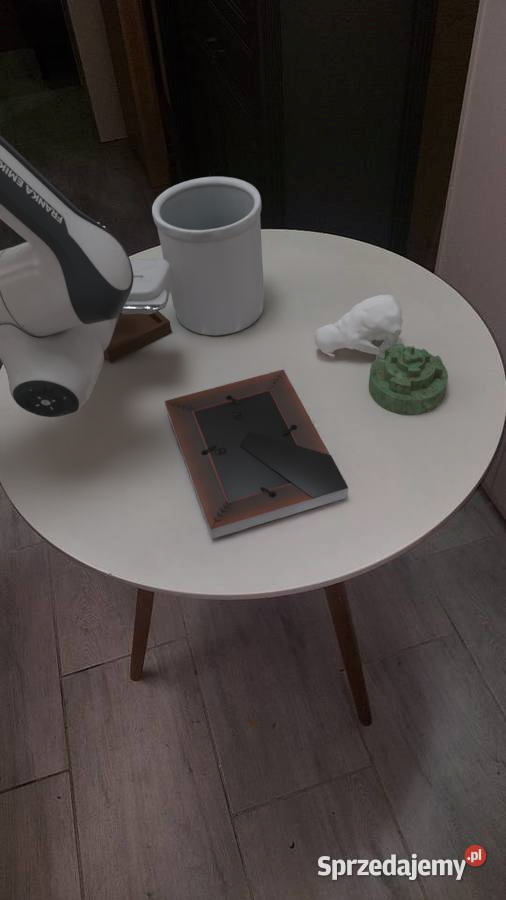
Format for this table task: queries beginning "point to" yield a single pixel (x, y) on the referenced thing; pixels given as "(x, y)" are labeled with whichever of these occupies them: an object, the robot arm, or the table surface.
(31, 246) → the robot arm
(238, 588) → the table surface
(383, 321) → the white animal figurine
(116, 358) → the dark tray
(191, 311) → the utensil holder
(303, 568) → the table surface
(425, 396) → the decorative artifact
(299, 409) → the picture frame
